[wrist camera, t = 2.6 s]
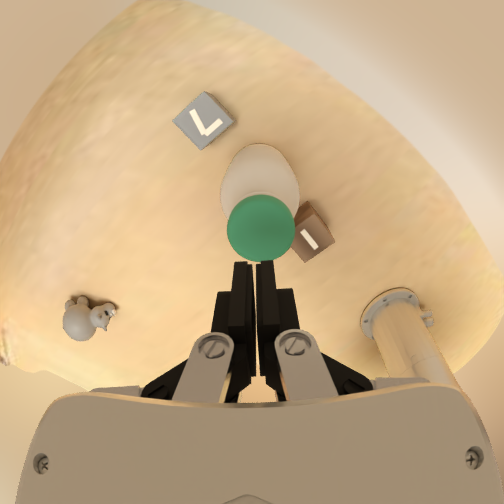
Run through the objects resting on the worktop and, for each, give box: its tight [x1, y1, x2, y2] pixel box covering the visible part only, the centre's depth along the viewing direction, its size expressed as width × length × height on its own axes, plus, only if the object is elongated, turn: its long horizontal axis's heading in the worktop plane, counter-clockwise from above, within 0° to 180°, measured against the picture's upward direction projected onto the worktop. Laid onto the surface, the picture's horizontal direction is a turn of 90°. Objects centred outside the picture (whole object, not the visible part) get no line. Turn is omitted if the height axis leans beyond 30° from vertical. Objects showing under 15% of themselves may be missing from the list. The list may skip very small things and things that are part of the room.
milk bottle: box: [220, 144, 300, 262], centre depth 27 cm, size 8×8×20 cm
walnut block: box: [291, 201, 335, 263], centre depth 37 cm, size 5×5×5 cm
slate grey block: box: [173, 91, 236, 150], centre depth 30 cm, size 5×5×5 cm
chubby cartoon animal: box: [63, 296, 116, 341], centre depth 45 cm, size 7×12×8 cm, turn 95°
